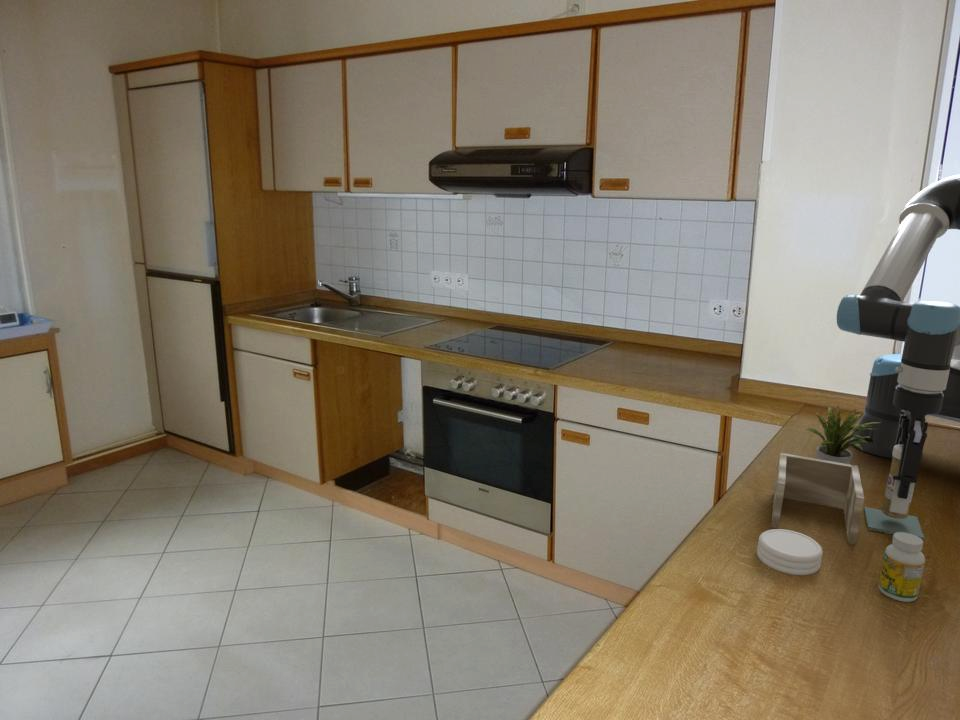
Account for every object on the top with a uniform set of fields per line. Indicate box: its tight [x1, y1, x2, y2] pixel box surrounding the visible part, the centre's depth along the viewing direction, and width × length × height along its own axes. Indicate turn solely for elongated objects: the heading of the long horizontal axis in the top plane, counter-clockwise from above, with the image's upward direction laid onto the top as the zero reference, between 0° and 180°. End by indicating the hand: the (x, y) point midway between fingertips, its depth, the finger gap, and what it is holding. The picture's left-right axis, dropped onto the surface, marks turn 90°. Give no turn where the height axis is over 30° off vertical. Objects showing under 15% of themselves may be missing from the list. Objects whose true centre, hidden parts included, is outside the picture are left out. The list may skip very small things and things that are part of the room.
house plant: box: [805, 405, 880, 465], centre depth 150 cm, size 14×14×16 cm
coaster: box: [756, 528, 824, 576], centre depth 120 cm, size 10×10×4 cm
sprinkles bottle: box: [880, 444, 916, 519], centre depth 131 cm, size 5×5×13 cm
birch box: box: [771, 452, 865, 546], centre depth 134 cm, size 16×14×9 cm
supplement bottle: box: [878, 532, 926, 603], centre depth 110 cm, size 5×5×10 cm
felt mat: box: [863, 506, 925, 542], centre depth 134 cm, size 9×9×1 cm
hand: (896, 506), depth 133 cm, fingers closed on sprinkles bottle, 4 cm apart
